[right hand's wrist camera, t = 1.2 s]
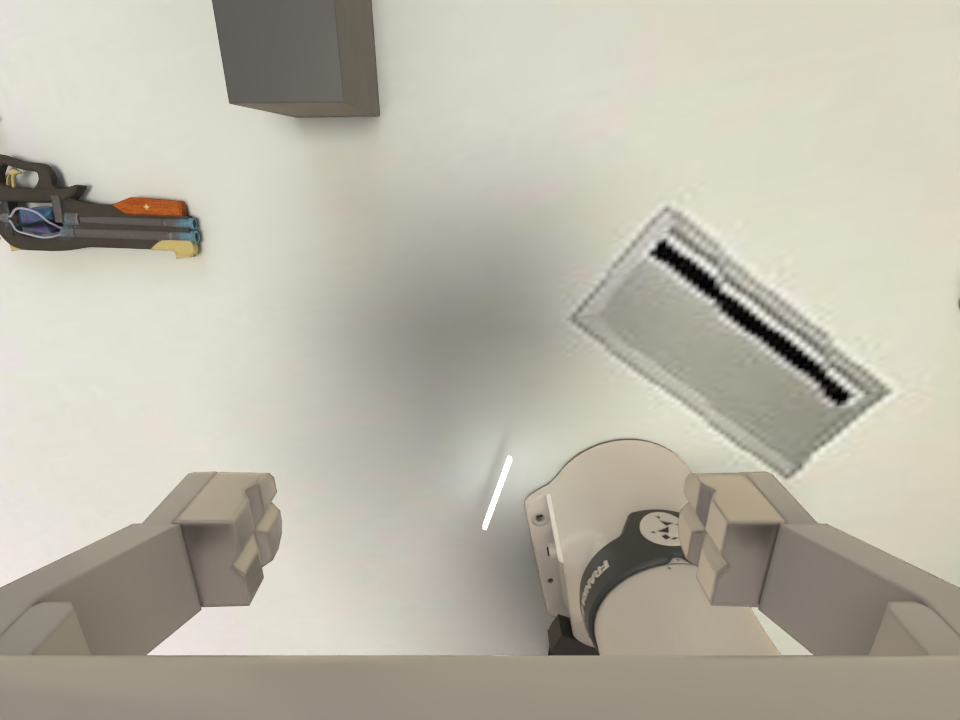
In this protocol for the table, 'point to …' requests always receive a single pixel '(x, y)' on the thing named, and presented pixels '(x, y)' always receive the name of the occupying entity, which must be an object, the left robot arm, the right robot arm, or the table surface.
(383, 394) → the table surface
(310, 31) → the box
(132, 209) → the toy gun
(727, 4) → the table surface
